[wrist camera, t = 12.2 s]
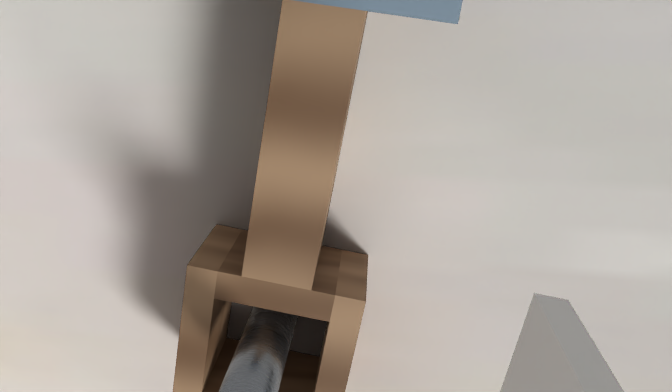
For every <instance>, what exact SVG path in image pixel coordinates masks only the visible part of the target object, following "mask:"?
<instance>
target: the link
mask: <svg viewBox="0 0 672 392" xmlns="http://www.w3.org/2000/svg"><path fill="white" fill-rule="evenodd" d="M367 13H368V11H363V10H356V9H349V8H342V7H335V6H328V5H321V4H314V3H308V2H301V1H294V0H282V7H281V13H280V20H279V27H278V34H277V40H276V47H275V54H274V61H273V67H272V74H271V81H270V88H269V94H268V101H267V108H266V114H265V121H264V128H263V135H262V141H261V148H260V155H259V162H258V168H257V175H256V182H255V189H254V195H253V202H252V209H251V215H250V222H249V229H248V231H247V230H243V229H238V228H233V227H228V226H223V225H218V224H216V226H215V227H214V228H213V230H212V231H211V232H210V234H209V235H208V237H207V238H206V239H205V241H204V242H203V244H202V245H201V246H200V248H199V249H198V251H197V252H196V253H195V255H194V256H193V258H192V259H191V260H190V262H189V263H188V265H187V270H186V279H185V288H184V296H183V305H182V314H181V323H180V332H179V341H178V350H177V359H176V367H175V376H174V385H173V392H219V390H220V387H221V385H222V382H223V380H224V377H225V375H226V372H227V370H228V368H229V365H230V363H231V360H232V358H233V355H234V353H235V350H236V348H237V345H238V343H239V341H240V340H235V339H230V338H227V332H228V325H229V318H230V311H231V304H232V302H234V303H239V304H244V305H249V306H254V307H259V308H263V309H268V310H273V311H278V312H283V313H288V314H293V315H298V316H303V317H308V318H313V319H318V320H323V321H327V324H326V329H325V334H324V339H323V343H322V348H321V353H320V357H318V356H313V355H308V354H304V353H299V352H294V351H289V352H288V356H287V360H286V363H285V367H284V371H283V375H282V379H281V383H280V387H279V391H278V392H345V389H346V385H347V381H348V376H349V372H350V368H351V363H352V359H353V355H354V350H355V346H356V342H357V338H358V333H359V329H360V325H361V320H362V316H363V312H364V307H365V303H366V288H367V267H368V255H366V254H361V253H356V252H351V251H346V250H342V249H337V248H332V247H327V246H322V242H323V237H324V232H325V227H326V221H327V216H328V211H329V206H330V201H331V196H332V191H333V186H334V181H335V176H336V171H337V165H338V160H339V155H340V150H341V145H342V140H343V135H344V130H345V125H346V120H347V115H348V109H349V104H350V99H351V94H352V89H353V84H354V79H355V74H356V69H357V64H358V58H359V53H360V48H361V43H362V38H363V33H364V28H365V23H366V18H367Z"/></svg>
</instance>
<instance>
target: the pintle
mask: <svg viewBox="0 0 672 392" xmlns="http://www.w3.org/2000/svg"><path fill="white" fill-rule="evenodd" d="M297 317H298V315H293V314H288V313H283V312H278V311H273V310H268V309H263V308H259V307H254V306H253V309H252V311H251V314H250V316H249V319H248V321H247V323H246V326H245V328H244V331H243V333H242V336H241V338H240V341H239V343H238V345H237V348H236V350H235V353H234V355H233V358H232V360H231V363H230V365H229V368H228V370H227V372H226V375H225V377H224V380H223V382H222V385H221V387H220V390H219V392H278V391H279V387H280V383H281V379H282V375H283V371H284V367H285V363H286V360H287V356H288V352H289V348H290V344H291V340H292V336H293V332H294V328H295V325H296V321H297Z"/></svg>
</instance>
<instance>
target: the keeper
mask: <svg viewBox="0 0 672 392" xmlns="http://www.w3.org/2000/svg"><path fill="white" fill-rule="evenodd" d="M294 1H301V2H308V3H314V4H321V5H328V6H335V7H342V8H349V9H356V10H363V11H370V12H377V13H384V14H391V15H398V16H405V17H412V18H419V19H426V20H433V21H439V22H446V23H453V24H458V21H459V16H460V11H461V6H462V0H294Z"/></svg>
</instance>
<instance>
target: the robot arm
mask: <svg viewBox="0 0 672 392" xmlns="http://www.w3.org/2000/svg"><path fill="white" fill-rule="evenodd" d="M500 392H624V391H623V389H622V388H621V386H620V384H619V383H618V381H617V379H616V378H615V376H614V374H613V373H612V371H611V369H610V368H609V366H608V364H607V363H606V361H605V360H604V358H603V356H602V355H601V353H600V351H599V350H598V348H597V346H596V345H595V343H594V341H593V340H592V338H591V337H590V335H589V333H588V332H587V330H586V328H585V327H584V325H583V323H582V322H581V320H580V318H579V317H578V315H577V314H576V312H575V310H574V309H573V307H572V305H571V304H570V302H569V300H565V299H560V298H556V297H551V296H546V295H541V294H536V293H534V295H533V298H532V301H531V304H530V307H529V310H528V313H527V316H526V319H525V321H524V324H523V327H522V330H521V333H520V336H519V339H518V342H517V345H516V348H515V350H514V353H513V356H512V359H511V362H510V365H509V368H508V371H507V374H506V377H505V379H504V382H503V385H502V388H501V391H500Z"/></svg>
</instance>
